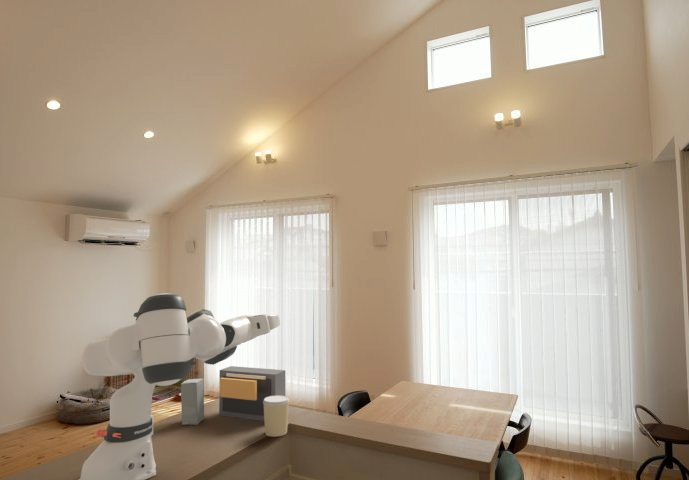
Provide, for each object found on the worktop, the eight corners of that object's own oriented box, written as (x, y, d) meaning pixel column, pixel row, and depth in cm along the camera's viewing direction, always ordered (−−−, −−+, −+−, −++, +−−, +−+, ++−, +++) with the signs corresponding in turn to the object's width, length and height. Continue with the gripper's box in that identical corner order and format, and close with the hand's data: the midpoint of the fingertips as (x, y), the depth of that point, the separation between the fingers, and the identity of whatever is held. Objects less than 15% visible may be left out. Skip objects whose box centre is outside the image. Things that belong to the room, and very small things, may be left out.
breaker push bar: (254, 400, 170) (254, 381, 170) (219, 396, 176) (219, 378, 176) (259, 398, 173) (259, 379, 173) (224, 394, 178) (224, 376, 179)
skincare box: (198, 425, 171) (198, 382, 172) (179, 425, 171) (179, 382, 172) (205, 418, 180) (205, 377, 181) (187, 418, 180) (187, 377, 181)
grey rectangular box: (274, 422, 173) (274, 375, 174) (217, 415, 182) (218, 370, 183) (285, 415, 181) (285, 370, 182) (230, 409, 190) (231, 366, 192)
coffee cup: (285, 426, 168) (285, 394, 169) (292, 434, 160) (292, 400, 161) (260, 430, 165) (260, 397, 166) (266, 439, 156) (266, 403, 157)
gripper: (218, 343, 156) (236, 337, 170) (273, 331, 153) (286, 326, 166) (215, 325, 157) (232, 320, 170) (269, 313, 153) (282, 309, 167)
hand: (259, 323), depth 168 cm, fingers open, 8 cm apart
